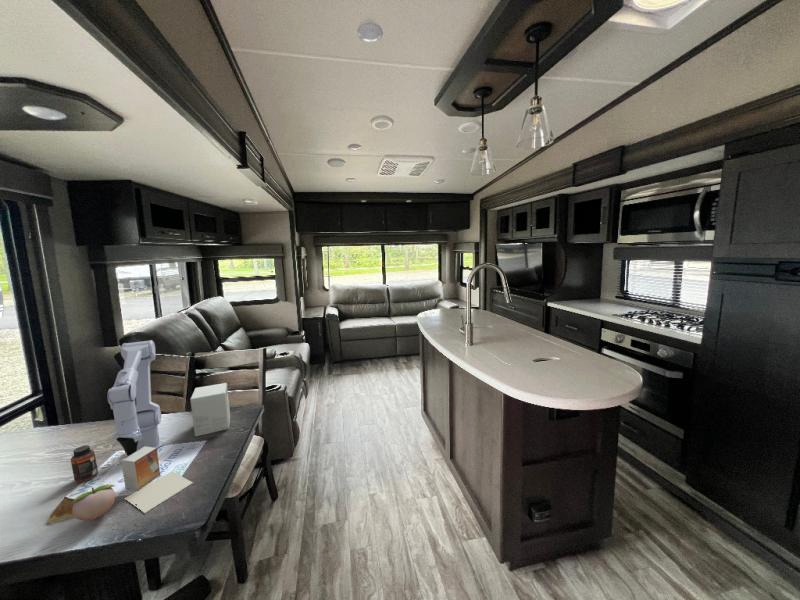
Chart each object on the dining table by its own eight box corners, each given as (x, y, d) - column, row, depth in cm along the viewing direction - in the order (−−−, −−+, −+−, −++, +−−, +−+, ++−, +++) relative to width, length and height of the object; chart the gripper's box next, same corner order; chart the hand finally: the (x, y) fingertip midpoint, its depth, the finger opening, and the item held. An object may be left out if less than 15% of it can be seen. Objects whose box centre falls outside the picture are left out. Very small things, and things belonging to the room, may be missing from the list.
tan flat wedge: (65, 500, 100) (64, 495, 100) (96, 492, 103) (95, 487, 103) (45, 526, 90) (44, 521, 90) (80, 516, 94) (79, 511, 93)
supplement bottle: (102, 473, 112) (97, 444, 110) (81, 485, 106) (75, 455, 105) (92, 470, 114) (87, 441, 112) (70, 481, 108) (65, 451, 106)
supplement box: (231, 415, 151) (227, 382, 149) (229, 429, 139) (225, 392, 137) (199, 422, 146) (194, 387, 143) (194, 437, 134) (189, 399, 131)
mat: (124, 499, 99) (124, 498, 99) (172, 472, 112) (171, 471, 112) (144, 513, 94) (144, 512, 94) (193, 483, 106) (192, 482, 106)
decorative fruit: (81, 536, 86) (75, 504, 85) (71, 524, 90) (65, 493, 89) (124, 511, 94) (119, 482, 93) (112, 501, 98) (108, 473, 97)
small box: (138, 490, 103) (133, 462, 102) (124, 488, 104) (120, 460, 103) (161, 474, 111) (157, 447, 109) (148, 472, 112) (144, 445, 110)
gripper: (101, 419, 107) (107, 455, 109) (121, 429, 100) (127, 467, 102) (126, 410, 113) (132, 444, 115) (147, 419, 106) (152, 455, 108)
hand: (131, 454), depth 109 cm, fingers closed
